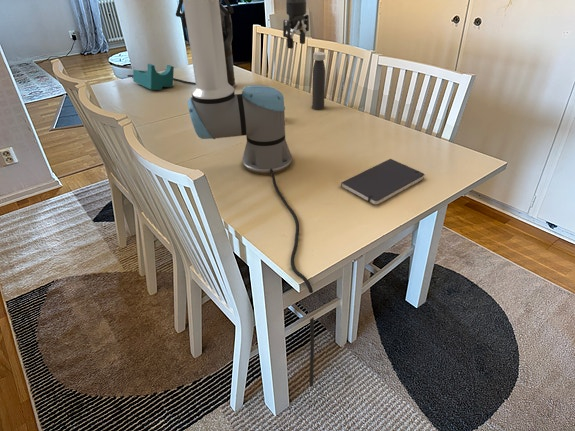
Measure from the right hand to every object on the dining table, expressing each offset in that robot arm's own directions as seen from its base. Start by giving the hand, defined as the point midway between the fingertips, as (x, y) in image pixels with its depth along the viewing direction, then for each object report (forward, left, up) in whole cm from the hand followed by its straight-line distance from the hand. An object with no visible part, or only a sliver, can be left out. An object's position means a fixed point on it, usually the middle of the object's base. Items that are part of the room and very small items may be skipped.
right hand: (208, 36), depth 147 cm
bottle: (-7, -40, -28) cm, 49 cm away
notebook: (-69, -44, -28) cm, 86 cm away
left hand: (+6, -34, -7) cm, 35 cm away
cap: (-7, -40, -7) cm, 41 cm away
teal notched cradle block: (+40, +28, -28) cm, 56 cm away
